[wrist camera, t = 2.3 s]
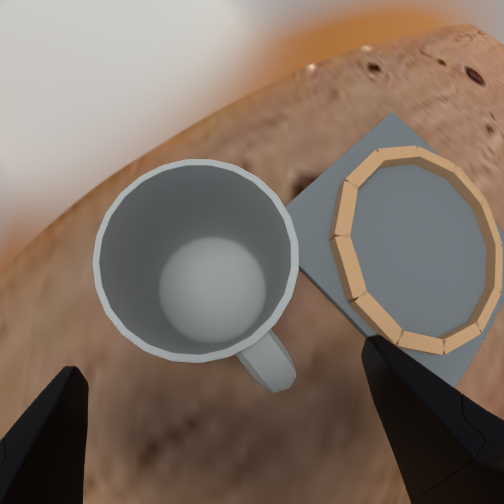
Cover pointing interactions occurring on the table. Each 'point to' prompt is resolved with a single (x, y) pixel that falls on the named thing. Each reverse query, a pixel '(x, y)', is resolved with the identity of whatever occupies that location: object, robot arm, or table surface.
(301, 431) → the table surface
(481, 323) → the collar mat
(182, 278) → the cup
